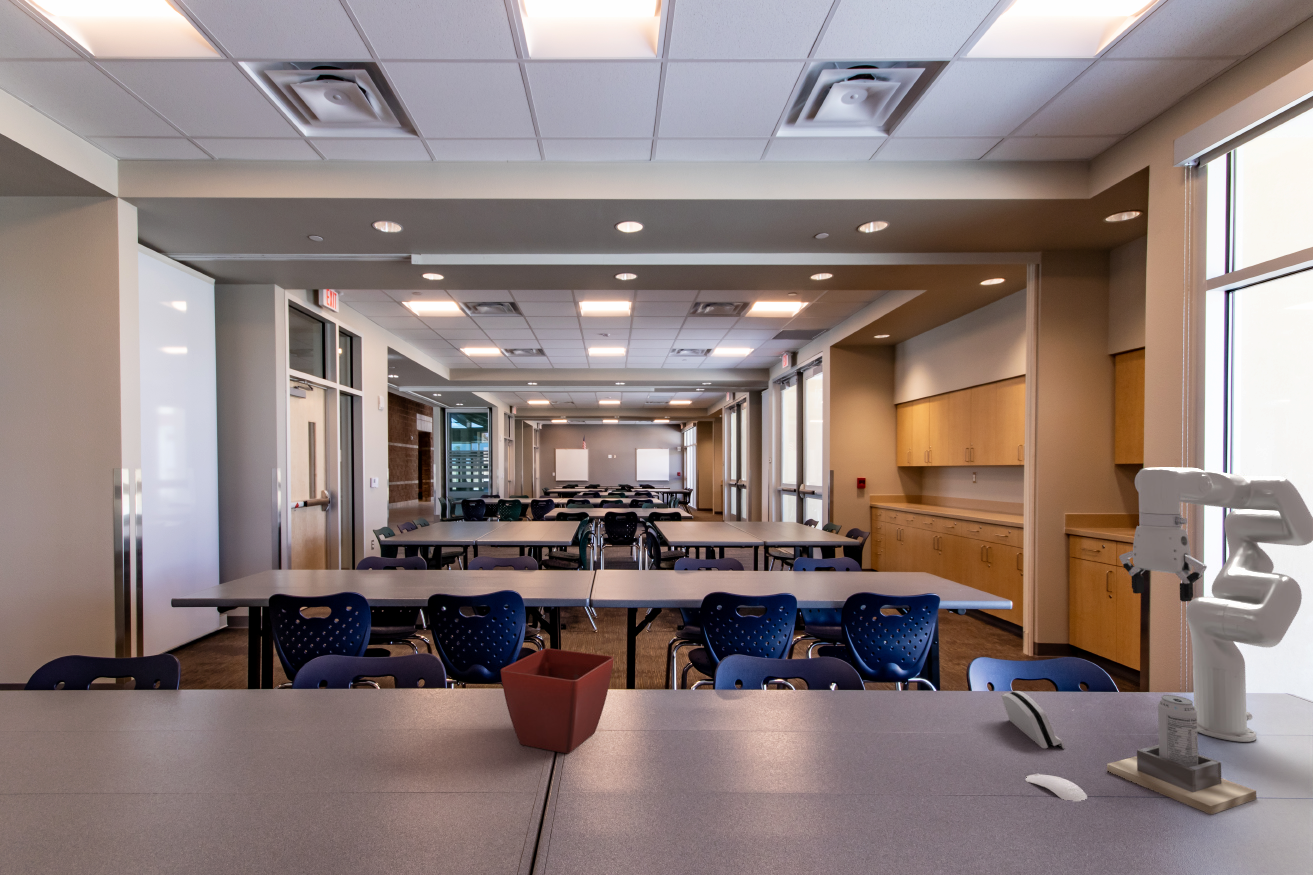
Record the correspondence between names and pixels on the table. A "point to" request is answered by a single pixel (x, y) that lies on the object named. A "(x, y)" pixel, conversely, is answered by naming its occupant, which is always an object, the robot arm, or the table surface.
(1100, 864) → the table surface
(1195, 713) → the energy drink can
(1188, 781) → the socket board
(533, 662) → the plant pot
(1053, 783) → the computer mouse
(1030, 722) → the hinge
